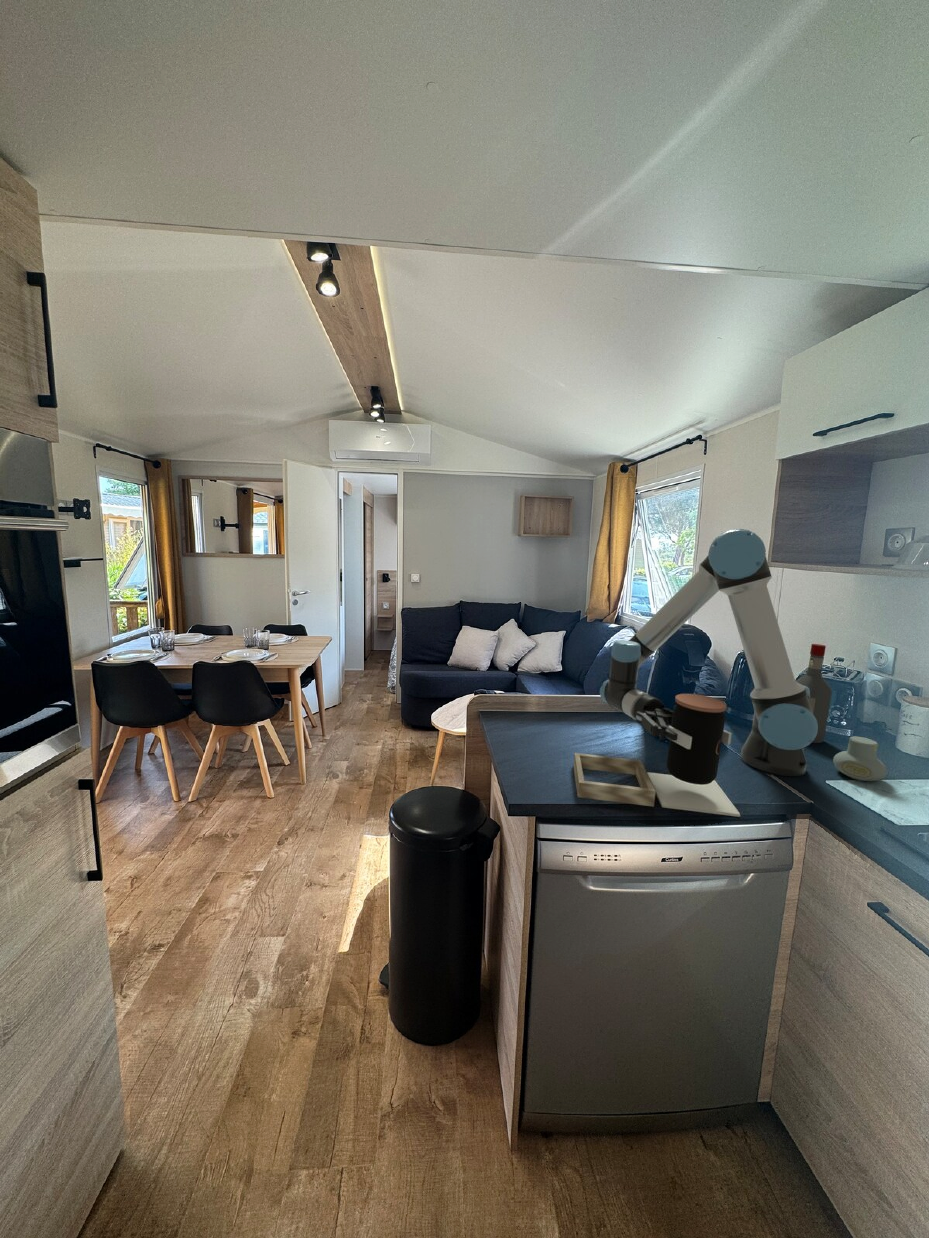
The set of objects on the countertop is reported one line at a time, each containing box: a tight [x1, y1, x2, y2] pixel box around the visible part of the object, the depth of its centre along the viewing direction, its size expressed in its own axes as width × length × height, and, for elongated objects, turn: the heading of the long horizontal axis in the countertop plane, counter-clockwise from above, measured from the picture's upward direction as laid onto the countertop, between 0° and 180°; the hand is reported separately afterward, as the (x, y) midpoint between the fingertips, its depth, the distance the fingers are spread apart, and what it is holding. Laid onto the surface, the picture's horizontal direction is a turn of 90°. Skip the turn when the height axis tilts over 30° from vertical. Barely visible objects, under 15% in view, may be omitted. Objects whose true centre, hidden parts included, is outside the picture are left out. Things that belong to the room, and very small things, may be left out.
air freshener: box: [832, 735, 888, 782], centre depth 128 cm, size 11×8×10 cm
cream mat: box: [646, 771, 741, 818], centre depth 114 cm, size 16×16×1 cm
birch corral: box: [572, 752, 656, 807], centre depth 116 cm, size 16×16×4 cm
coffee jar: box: [666, 693, 728, 785], centre depth 112 cm, size 11×11×18 cm
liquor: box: [795, 643, 833, 744], centre depth 152 cm, size 9×9×30 cm
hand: (710, 741), depth 108 cm, fingers closed on coffee jar, 11 cm apart
